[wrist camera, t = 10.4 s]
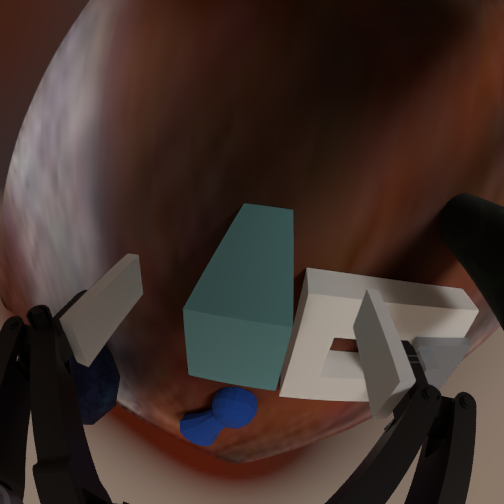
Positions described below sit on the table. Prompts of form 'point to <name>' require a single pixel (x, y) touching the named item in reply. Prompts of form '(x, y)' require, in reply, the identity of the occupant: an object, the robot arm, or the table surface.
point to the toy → (220, 416)
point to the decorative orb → (96, 386)
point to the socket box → (341, 326)
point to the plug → (244, 302)
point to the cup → (478, 244)
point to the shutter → (440, 357)
